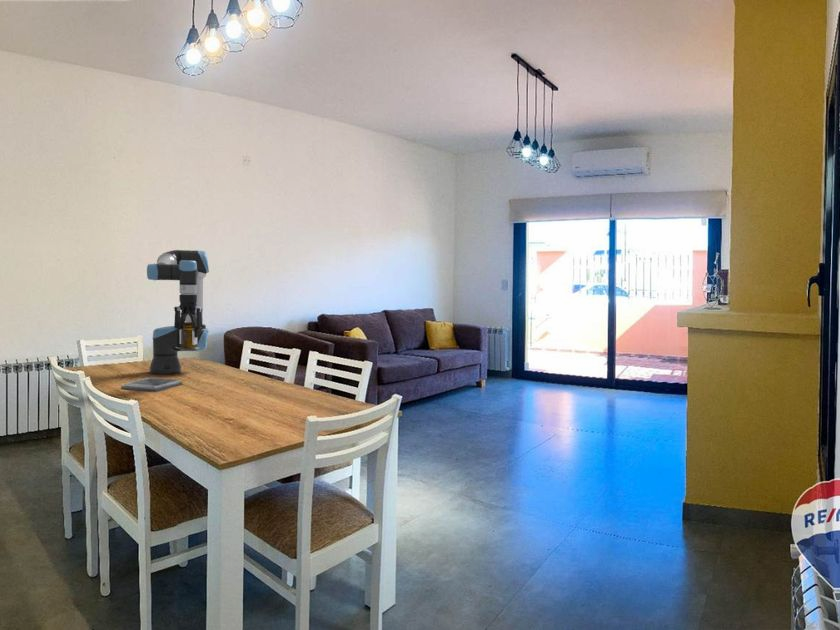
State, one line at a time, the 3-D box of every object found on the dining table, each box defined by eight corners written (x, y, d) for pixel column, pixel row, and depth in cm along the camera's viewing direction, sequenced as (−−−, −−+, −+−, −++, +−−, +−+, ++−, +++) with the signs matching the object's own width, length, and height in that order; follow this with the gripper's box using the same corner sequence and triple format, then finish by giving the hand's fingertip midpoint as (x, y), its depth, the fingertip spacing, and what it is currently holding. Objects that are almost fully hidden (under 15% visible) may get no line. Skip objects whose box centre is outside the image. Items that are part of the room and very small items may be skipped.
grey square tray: (150, 381, 286) (150, 377, 286) (182, 384, 281) (182, 379, 281) (121, 388, 269) (121, 383, 269) (155, 391, 264) (154, 386, 264)
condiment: (199, 348, 282) (199, 322, 281) (182, 349, 276) (181, 323, 275) (192, 346, 287) (192, 321, 286) (175, 348, 281) (174, 322, 280)
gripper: (165, 293, 279) (165, 343, 280) (201, 295, 274) (201, 346, 275) (175, 293, 286) (176, 341, 288) (211, 294, 281) (211, 344, 283)
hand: (188, 343), depth 282 cm, fingers closed on condiment, 6 cm apart
